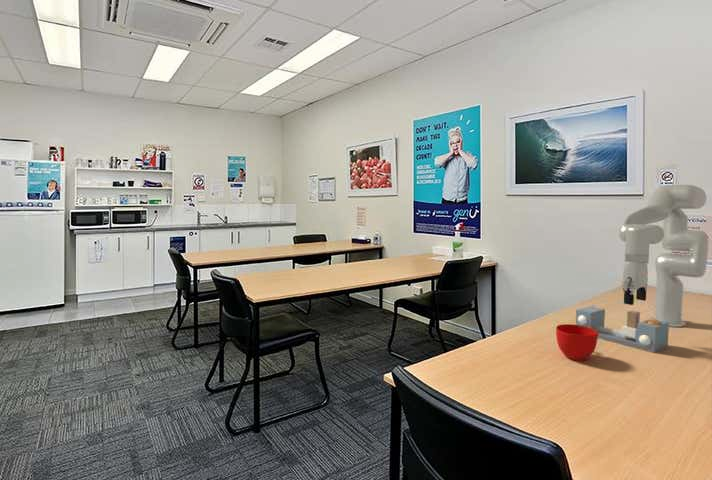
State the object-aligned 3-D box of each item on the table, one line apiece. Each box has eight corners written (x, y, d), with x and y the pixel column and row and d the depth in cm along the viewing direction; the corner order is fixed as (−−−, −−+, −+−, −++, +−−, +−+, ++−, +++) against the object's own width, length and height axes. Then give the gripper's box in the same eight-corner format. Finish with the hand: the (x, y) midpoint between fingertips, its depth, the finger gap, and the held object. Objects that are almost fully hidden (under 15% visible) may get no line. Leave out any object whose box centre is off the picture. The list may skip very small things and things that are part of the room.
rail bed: (589, 327, 177) (590, 306, 176) (667, 347, 152) (669, 322, 151) (574, 332, 171) (575, 310, 170) (653, 353, 146) (654, 327, 145)
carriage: (629, 333, 161) (631, 309, 160) (643, 337, 157) (645, 311, 156) (620, 336, 158) (622, 311, 157) (635, 340, 153) (636, 314, 152)
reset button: (649, 326, 154) (650, 318, 153) (660, 328, 151) (661, 320, 150) (645, 327, 152) (645, 319, 151) (656, 330, 149) (656, 322, 148)
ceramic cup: (589, 349, 151) (590, 323, 150) (600, 366, 135) (602, 337, 134) (551, 345, 155) (552, 320, 154) (557, 361, 139) (559, 333, 138)
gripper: (636, 255, 162) (635, 296, 164) (614, 260, 153) (613, 303, 155) (658, 257, 156) (656, 300, 158) (636, 262, 147) (634, 308, 149)
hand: (634, 302), depth 156 cm, fingers open, 9 cm apart
